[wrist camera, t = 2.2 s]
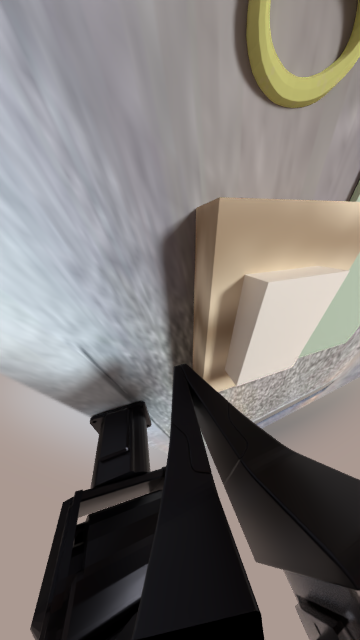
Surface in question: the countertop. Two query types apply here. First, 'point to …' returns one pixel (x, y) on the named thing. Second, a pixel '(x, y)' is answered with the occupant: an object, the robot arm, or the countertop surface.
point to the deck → (258, 260)
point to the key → (272, 72)
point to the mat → (339, 310)
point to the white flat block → (278, 319)
